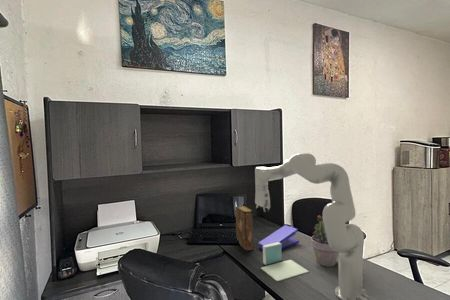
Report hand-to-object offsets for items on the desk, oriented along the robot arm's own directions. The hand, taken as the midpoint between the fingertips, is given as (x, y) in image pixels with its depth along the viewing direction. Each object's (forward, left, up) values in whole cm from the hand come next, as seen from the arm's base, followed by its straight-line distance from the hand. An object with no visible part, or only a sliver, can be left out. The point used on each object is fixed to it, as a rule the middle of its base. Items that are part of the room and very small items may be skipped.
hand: (262, 216), depth 156 cm
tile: (-10, 0, -24) cm, 26 cm away
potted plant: (-25, -26, -24) cm, 43 cm away
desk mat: (-21, 0, -24) cm, 31 cm away
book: (+18, +3, -24) cm, 30 cm away
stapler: (+8, -17, -24) cm, 31 cm away
